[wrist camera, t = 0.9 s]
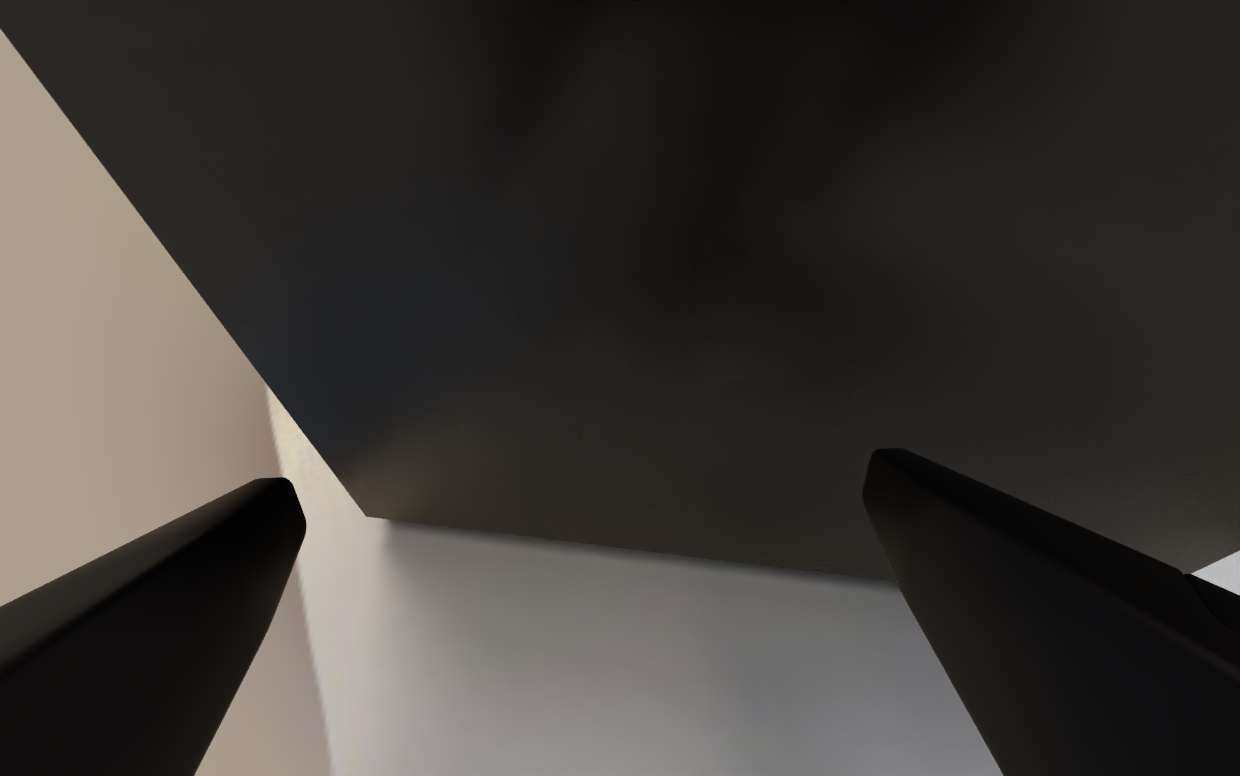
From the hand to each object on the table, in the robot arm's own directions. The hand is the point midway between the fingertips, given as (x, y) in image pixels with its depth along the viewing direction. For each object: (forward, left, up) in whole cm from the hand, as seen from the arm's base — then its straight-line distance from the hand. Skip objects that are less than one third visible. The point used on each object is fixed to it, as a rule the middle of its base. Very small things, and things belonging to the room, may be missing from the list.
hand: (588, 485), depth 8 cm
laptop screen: (+4, -6, -3) cm, 8 cm away
